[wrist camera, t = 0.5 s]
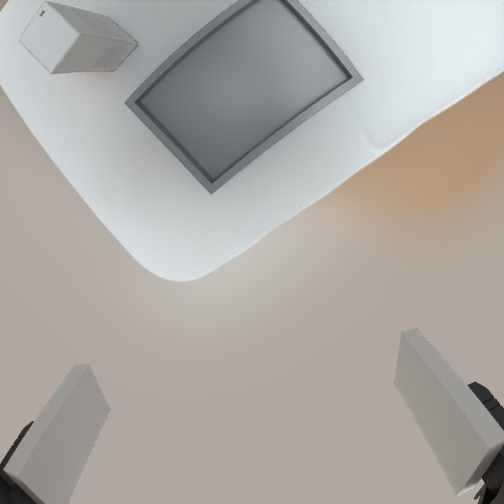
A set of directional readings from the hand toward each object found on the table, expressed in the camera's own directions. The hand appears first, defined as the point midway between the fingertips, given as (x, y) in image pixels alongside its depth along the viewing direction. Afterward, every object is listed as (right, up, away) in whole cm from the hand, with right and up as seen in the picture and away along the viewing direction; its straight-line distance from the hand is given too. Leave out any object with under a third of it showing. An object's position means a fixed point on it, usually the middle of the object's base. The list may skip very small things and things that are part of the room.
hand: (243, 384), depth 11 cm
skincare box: (-15, +28, +14) cm, 35 cm away
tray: (-1, +22, +16) cm, 28 cm away
